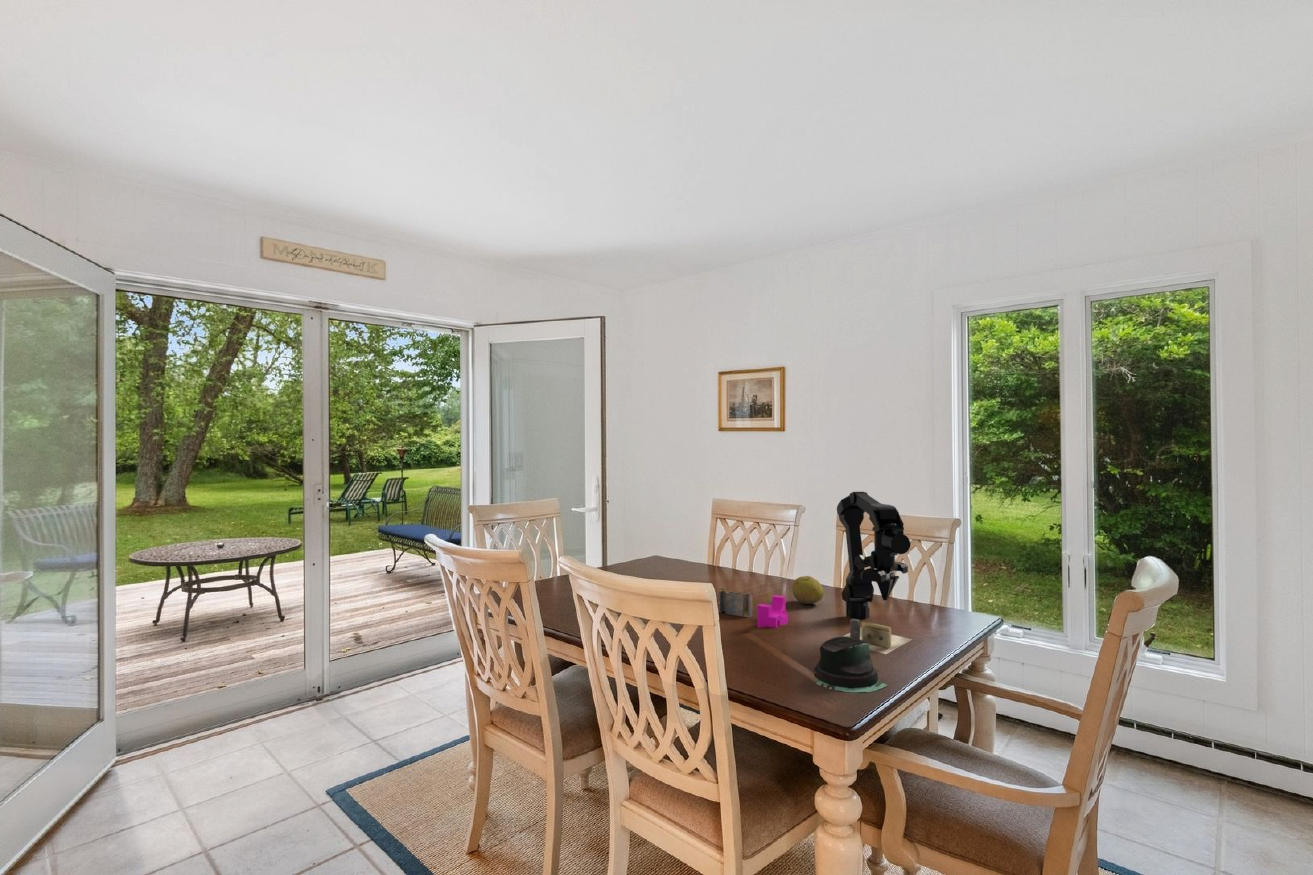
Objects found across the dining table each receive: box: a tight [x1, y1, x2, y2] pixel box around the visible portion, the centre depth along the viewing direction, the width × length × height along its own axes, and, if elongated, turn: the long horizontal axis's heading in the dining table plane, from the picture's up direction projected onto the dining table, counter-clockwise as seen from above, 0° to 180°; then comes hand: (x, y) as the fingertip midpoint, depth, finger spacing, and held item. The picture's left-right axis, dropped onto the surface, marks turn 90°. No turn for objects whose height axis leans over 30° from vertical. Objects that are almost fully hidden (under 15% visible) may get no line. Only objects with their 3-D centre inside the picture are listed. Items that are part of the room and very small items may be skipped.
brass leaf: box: [861, 620, 892, 647], centre depth 175 cm, size 8×1×5 cm, turn 43°
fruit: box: [791, 575, 825, 605], centre depth 222 cm, size 11×12×10 cm
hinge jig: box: [843, 618, 913, 655], centre depth 178 cm, size 16×17×7 cm
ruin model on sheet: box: [718, 586, 754, 619], centre depth 210 cm, size 11×3×10 cm, turn 58°
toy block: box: [756, 594, 789, 629], centre depth 199 cm, size 15×6×8 cm, turn 148°
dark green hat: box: [813, 635, 889, 693], centre depth 155 cm, size 20×20×9 cm
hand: (885, 599), depth 182 cm, fingers closed
